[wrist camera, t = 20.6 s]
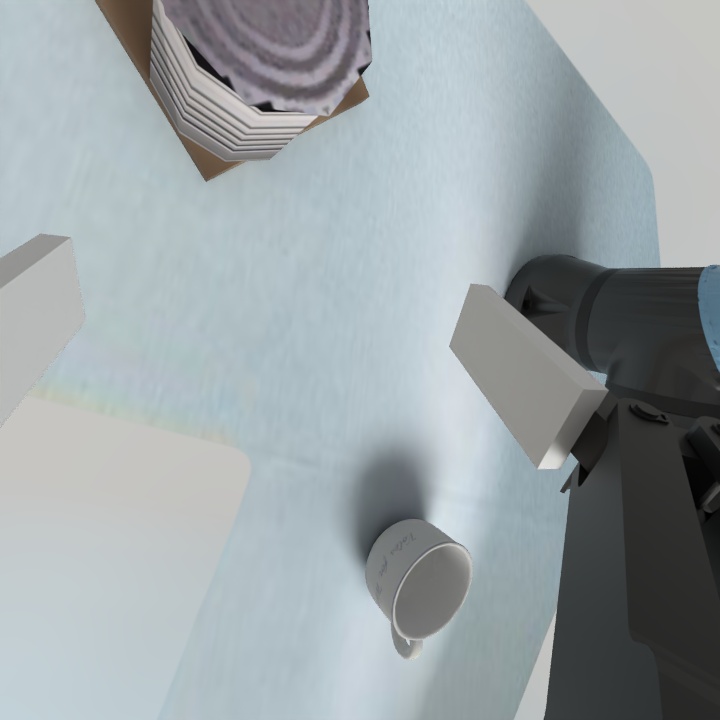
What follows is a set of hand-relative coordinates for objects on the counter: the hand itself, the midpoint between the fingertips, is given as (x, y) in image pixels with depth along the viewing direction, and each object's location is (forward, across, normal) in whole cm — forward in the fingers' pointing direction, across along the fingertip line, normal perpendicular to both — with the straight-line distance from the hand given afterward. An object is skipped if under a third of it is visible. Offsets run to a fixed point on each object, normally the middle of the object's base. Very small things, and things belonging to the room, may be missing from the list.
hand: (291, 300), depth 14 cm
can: (+25, -4, +6) cm, 26 cm away
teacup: (+13, +16, -38) cm, 44 cm away
